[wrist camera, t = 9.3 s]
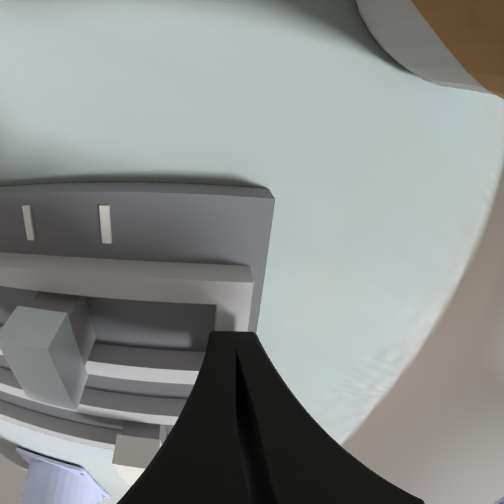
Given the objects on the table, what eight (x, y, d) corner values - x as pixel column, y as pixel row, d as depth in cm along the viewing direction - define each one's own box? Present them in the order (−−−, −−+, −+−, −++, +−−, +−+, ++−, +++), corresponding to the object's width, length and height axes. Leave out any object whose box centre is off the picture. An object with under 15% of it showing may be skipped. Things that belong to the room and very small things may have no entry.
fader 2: (168, 436, 14) (166, 489, 11) (133, 433, 13) (126, 484, 10) (162, 410, 12) (158, 469, 9) (122, 405, 12) (112, 463, 9)
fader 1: (99, 343, 10) (76, 410, 7) (57, 337, 10) (28, 398, 7) (85, 282, 9) (47, 349, 6) (39, 278, 9) (-6, 337, 6)
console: (234, 443, 17) (237, 471, 15) (-32, 392, 14) (-41, 410, 12) (268, 188, 10) (282, 209, 8) (-109, 200, 7) (-131, 214, 5)
